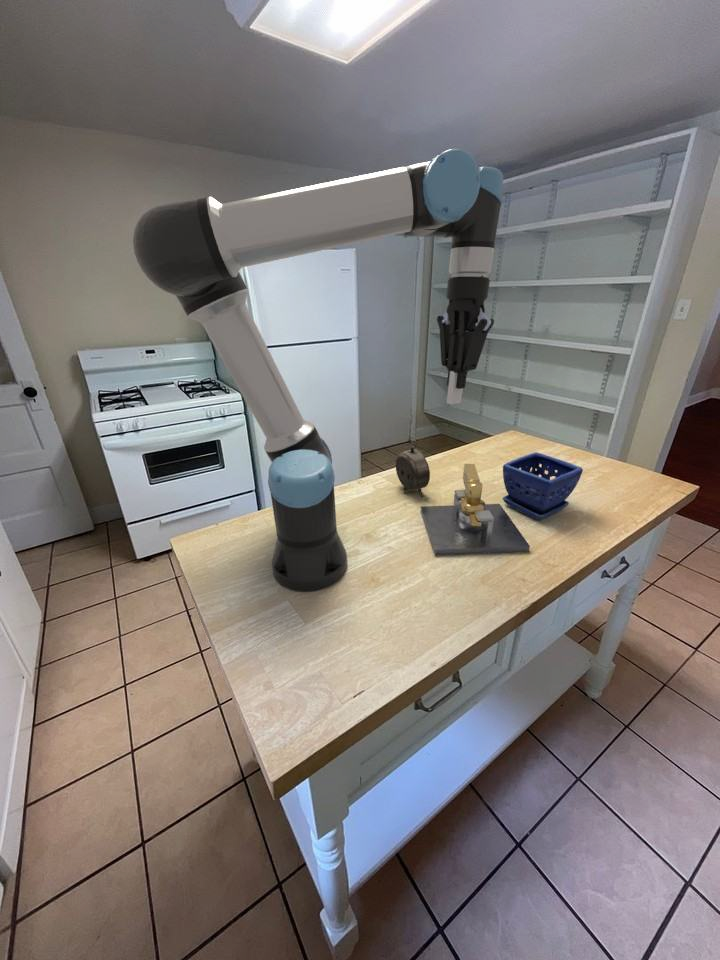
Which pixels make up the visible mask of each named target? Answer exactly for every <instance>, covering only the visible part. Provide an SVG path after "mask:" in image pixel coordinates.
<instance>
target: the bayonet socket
mask: <svg viewBox="0 0 720 960" xmlns="http://www.w3.org/2000/svg"><path fill="white" fill-rule="evenodd" d="M453 495H454V496H453V505H428V506H427V505H424V506H420V514H421V517H422V521H423V523H424V526H425V530H426V533H427V536H428V539H429V542H430V545H431V549H432V551H433V554H434V556H457V555H459V556H460V555H484V554H485V555H487V554H514V553H530V549H531V546H530V544H529V543H528V542H527V540H526V538H525V537H524V535H523V534H522V533H521V531H520V530H519V529H518V527H517V526H516V524H515V523H514V522H513V520H512V519H511V517H510V516H509V514H508V513H507V512H506V510H505V509H504V508H503V506H502V505H501V504H500V503H485V510H482V511H474V514H475V516H476V518H477V519H478V521H481V526H471V523H470V516H468V515H465V514H463V513H462V512H461V510H460V508H461V500H462V499H464V498H467V494H466V490H465V489H454V494H453Z"/></svg>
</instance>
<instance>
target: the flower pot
mask: <svg viewBox="0 0 720 960" xmlns="http://www.w3.org/2000/svg"><path fill="white" fill-rule="evenodd" d="M540 465H541V466H540ZM583 470H584V468H583V467H581V466H578V465H576V464H574V463H570V462H568V461H565V460H562V459H560V458H559V459H558V458H556V457H553V456H549V455H548V454H547V455H546V454H543V453H541V452H536V451H535V452H532V453H529V454H526V455H523V456H520V457H518V458H516V459H513V460H511V461H508V462H505V463H504V464H503V465H502V479H503V483H504V487H505V491H506V492H507V494H506V495H504V496H502V500H503V502H504V503H505V504H506V505H507V506H508V507H510V508H513V509H514V510H516V511H518V512H521V513H522V514H524V515H527V516H528V517H531V518H533V519H534V520H536V521H540V520H543V519H545V518H547V517H549V516H551V515H553V514H555V513H557V512H559V511H561V510H563V509H564V508H566V507H567V506H568V505H569V504H570V503H569V502H568V501H567V500H566V499H567V498H568V497H569V496H570V495H571V494H572V493H573V491H574V490H575V488H576V487H577V485H578V483H579V481H580V479H581V476H582V474H583ZM546 472H547V473H546ZM552 477H554V478H553V479H551V478H552Z"/></svg>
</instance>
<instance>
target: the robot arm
mask: <svg viewBox="0 0 720 960" xmlns="http://www.w3.org/2000/svg"><path fill="white" fill-rule="evenodd" d="M503 189H504V175H503V172H502V171H501V170H500V169H498V168H497V167H492V166H481V167H480V166H478V164H477V162H476V160H475V159H474V158H473V156H472V155H471V154H470V153H468V151H465V150H462V149H459V148H451V149H447V150H445V151H443V152H439V153H438V154H437V155H435V156H434V157H433V158H432V159H431V160H430V161H425V162H420V163H419V162H418V163H415V164H411V165H408V166H401V167H396V168H391V169H387V170H383V171H382V170H381V171H377V172H372V173H368V174H362V175H358V176H352V177H348V178H341V179H338V180H333V181H329V182H323V183H318V184H314V185H310V186H309V185H308V186H303V187H299V188H294V189H290V190H289V189H288V190H284V191H283V190H282V191H279V192H275V193H269V194H265V195H260V196H259V195H258V196H254V197H250V198H245V199H240V200H234V201H230V202H225V203H221V202H219V201H218V200H216V199H215V198H214V197H212V196H205V197H201V198H196V199H191V200H190V199H189V200H183V201H178V202H177V201H176V202H171V203H164V204H160V205H156V206H154V207H152V208H150V209H148V210H147V211H145V212H144V213H143V214H142V215H141V216H140V217H139V219H138V221H137V222H136V225H135V227H134V230H133V238H132V245H133V251H134V256H135V259H136V261H137V263H138V265H139V267H140V269H141V271H142V273H144V275H145V276H146V278H147V279H148V280H149V281H151V283H152V284H154V285H155V287H157V288H159V289H161V290H162V291H164V292H166V293H169V294H171V295H173V296H175V297H176V298H177V300H178V302H179V303H180V306H181V307H182V308H183V310H184V313H185V315H187V317H188V319H191V320H193V321H195V322H198V323H200V324H201V325H202V326H203V328H204V330H205V332H206V333H207V335H208V338H209V339H210V340H211V342H212V345H213V346H214V348H215V349H216V352H217V353H218V355H219V356H220V358H221V360H222V362H223V363H224V365H225V367H226V368H227V370H228V373H229V374H230V376H231V378H232V379H233V381H234V383H235V385H236V387H237V389H238V390H239V392H240V394H241V396H242V397H243V399H244V401H245V403H246V404H247V406H248V408H249V409H250V411H251V413H252V415H253V417H254V419H255V420H256V422H257V424H258V426H259V428H260V429H261V431H262V433H263V435H264V436H265V438H266V439H265V443H264V447H263V449H264V451H265V453H266V454H267V457H268V458H269V460H270V462H271V464H270V465H269V467H268V475H267V476H268V477H267V479H268V480H267V484H268V489H269V492H270V497H271V505H272V513H273V517H274V525H275V531H276V537H277V539H276V542H275V547H274V551H273V555H272V560H271V567H272V573H273V577H274V579H275V580H276V582H277V583H279V585H280V586H282V587H284V588H286V589H288V590H292V591H297V592H313V591H318V590H322V589H325V588H327V587H329V586H332V585H333V584H335V583H336V582H338V581H340V579H341V578H342V577H343V576H344V575H345V573H346V571H347V568H348V554H347V550H346V548H345V546H344V544H343V541H342V539H341V537H340V535H339V532H338V530H337V515H336V513H337V512H336V499H335V498H336V497H335V496H336V495H335V479H336V478H335V471H334V469H333V458H332V452H331V450H330V447H329V446H328V444H327V443H326V442H325V440H324V439H323V437H321V436H320V433H319V431H318V430H317V428H316V425H315V424H314V423H313V422H311V421H308V420H305V419H304V418H303V415H302V414H301V412H300V410H299V408H298V406H297V403H296V402H295V400H294V398H293V395H292V393H291V392H290V390H289V387H288V386H287V384H286V381H285V379H284V378H283V376H282V374H281V372H280V369H279V368H278V366H277V364H276V362H275V360H274V358H273V356H272V354H271V352H270V350H269V348H268V346H267V343H266V342H265V340H264V338H263V337H262V334H261V331H260V330H259V328H258V326H257V324H256V322H255V320H254V318H253V316H252V315H251V312H250V310H249V308H248V306H247V304H246V303H247V298H248V293H249V289H248V288H247V285H246V283H245V281H244V278H243V276H242V275H241V273H240V271H241V269H242V268H246V267H251V266H255V265H259V264H260V265H261V264H263V263H269V262H274V261H275V262H276V261H279V260H285V259H288V258H293V257H297V256H301V255H307V254H311V253H312V254H313V253H315V252H321V251H324V250H325V251H326V250H330V249H334V248H339V247H343V246H348V245H353V244H357V243H363V242H367V241H372V240H378V239H382V238H386V237H390V236H396V237H403V238H404V239H405V238H408V237H410V238H411V237H415V238H417V237H419V238H422V237H426V238H427V237H430V238H431V237H432V238H433V237H434V238H451V247H450V248H451V249H450V257H449V266H448V273H449V274H450V275H451V277H449V278H448V279H447V287H446V296H445V297H446V299H447V300H448V301H449V302H448V305H447V307H446V311H445V313H444V314H443V315H438V316H437V318H436V322H437V325H438V328H439V342H440V344H439V345H440V346H439V347H440V362H441V363H440V364H441V366H442V367H446V369H447V371H448V372H447V380H446V384H447V396H446V403H447V404H448V405H458V404H461V403H462V399H463V391H464V389H465V387H466V383H467V378H468V377H467V376H468V372H471V371H475V370H476V369H477V366H478V365H479V360H480V358H481V355H482V351H483V348H484V345H485V344H486V343H485V342H486V340H487V336H488V333H489V332H490V330H491V328H492V327H493V326H494V323H495V320H494V318H489V317H488V316H487V315H486V313H485V311H486V309H485V303H484V302H485V301H486V299H488V295H489V290H490V289H489V288H490V284H491V279H490V278H489V277H488V275H489V274H491V272H492V268H493V261H494V253H495V246H496V244H495V243H496V237H497V231H498V226H499V219H500V213H501V207H502V204H503V191H504V190H503Z"/></svg>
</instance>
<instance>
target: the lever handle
mask: <svg viewBox="0 0 720 960" xmlns="http://www.w3.org/2000/svg"><path fill="white" fill-rule="evenodd" d="M462 481H463V486H464V490H466V494H467V498H464V499H462V500H461V508H460V510H461V512H462V513H463V514H465V515H468V516H470V523H471V526H481V521H478V519H477V518H476V516H475V514H474V511H482V510H485V504H486V502H485V501H484V500H483V499H482V491H483V483H482V482H481V481H480V476H479V473H478V471H477V467H476V464H475V463H464V464H463V473H462Z"/></svg>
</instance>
